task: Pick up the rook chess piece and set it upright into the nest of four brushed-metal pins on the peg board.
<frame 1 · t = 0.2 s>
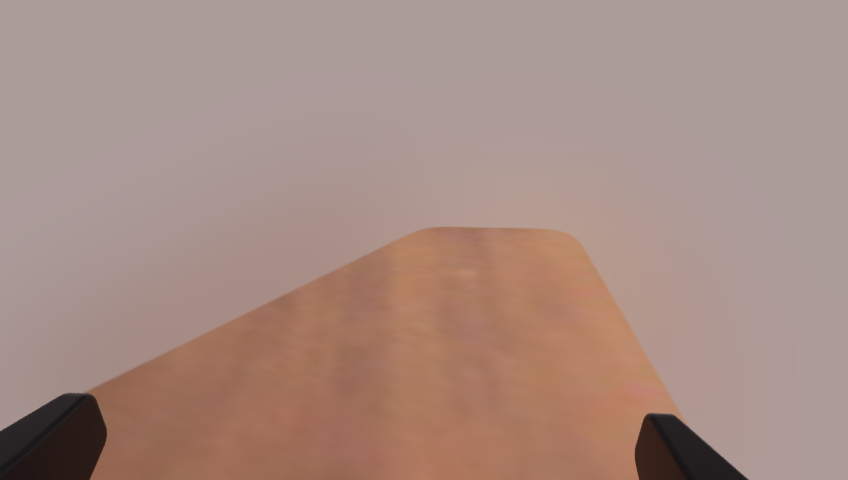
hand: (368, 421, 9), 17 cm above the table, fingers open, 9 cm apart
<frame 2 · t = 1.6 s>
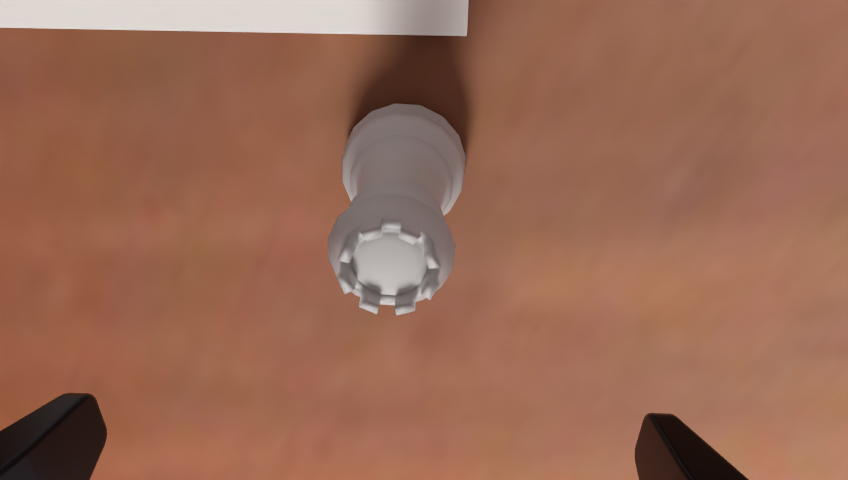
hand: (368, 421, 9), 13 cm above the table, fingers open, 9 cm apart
rook chess piece: (405, 158, 20), on the table
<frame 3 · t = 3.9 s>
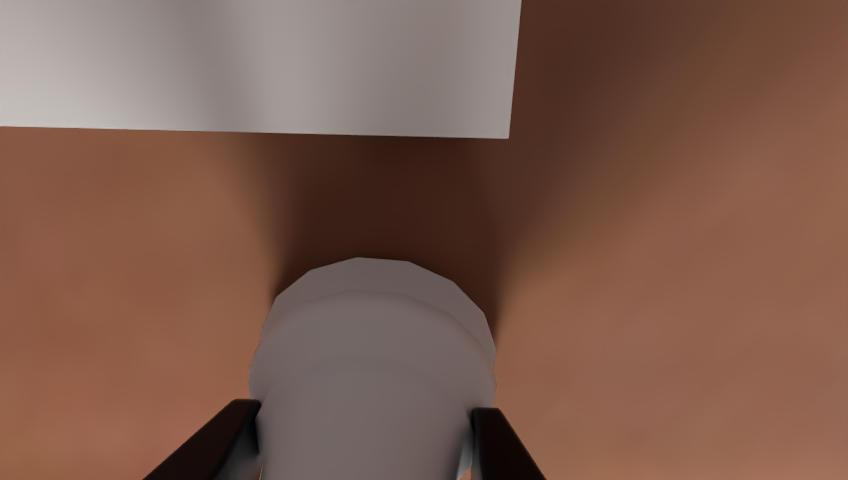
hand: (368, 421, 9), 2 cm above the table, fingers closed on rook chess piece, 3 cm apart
rook chess piece: (381, 336, 11), on the table, touching gripper
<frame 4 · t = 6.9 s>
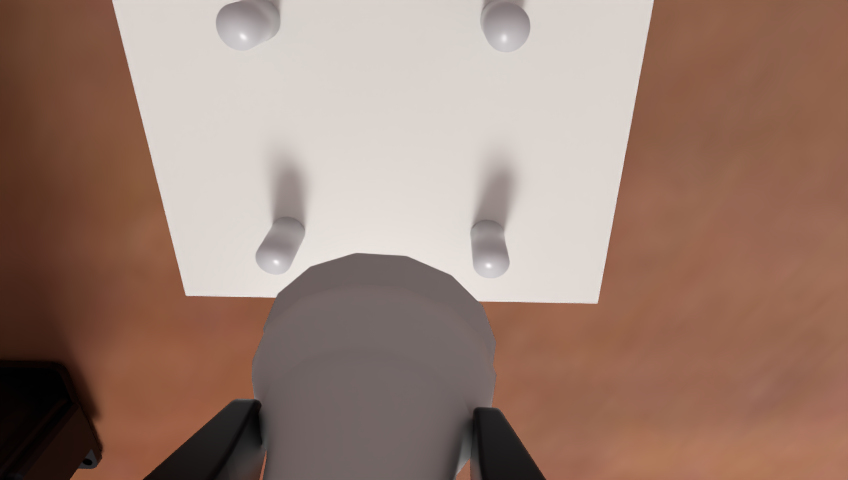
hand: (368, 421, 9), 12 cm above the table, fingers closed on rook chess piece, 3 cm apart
rook chess piece: (382, 331, 11), point 10 cm above the table, touching gripper
peg board: (386, 127, 19), on the table
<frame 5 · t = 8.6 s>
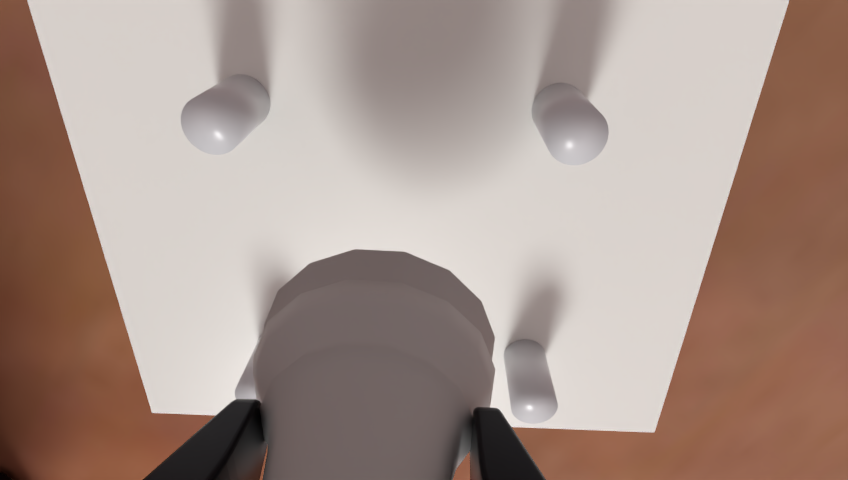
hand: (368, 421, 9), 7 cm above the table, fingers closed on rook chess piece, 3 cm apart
rook chess piece: (382, 327, 11), point 4 cm above the table, touching gripper
peg board: (403, 225, 15), on the table
when the fingers open (4 cm above the table, at t = 10.0 s): rook chess piece stays where it is, resting on peg board.
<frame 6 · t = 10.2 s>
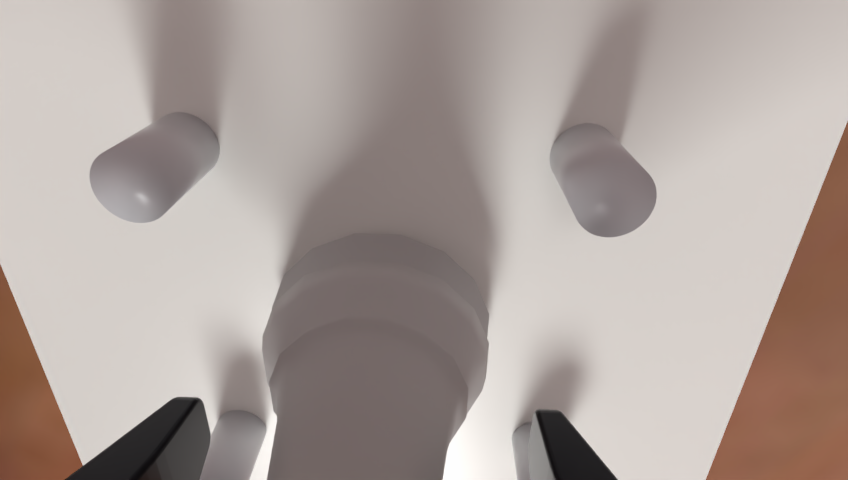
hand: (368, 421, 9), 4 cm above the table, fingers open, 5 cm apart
rook chess piece: (383, 309, 12), point 1 cm above the table, touching peg board
peg board: (390, 287, 12), on the table
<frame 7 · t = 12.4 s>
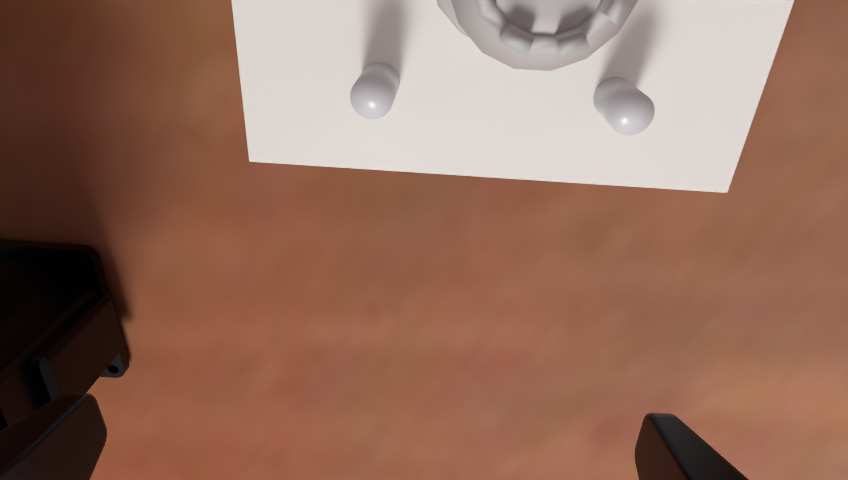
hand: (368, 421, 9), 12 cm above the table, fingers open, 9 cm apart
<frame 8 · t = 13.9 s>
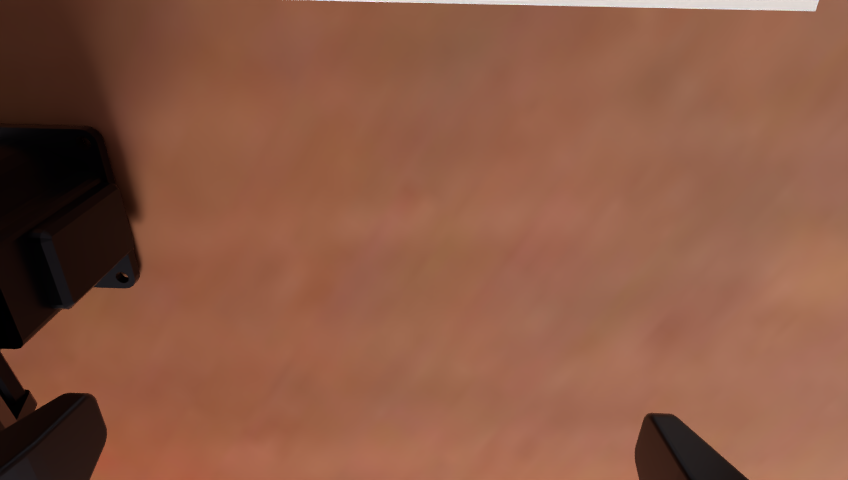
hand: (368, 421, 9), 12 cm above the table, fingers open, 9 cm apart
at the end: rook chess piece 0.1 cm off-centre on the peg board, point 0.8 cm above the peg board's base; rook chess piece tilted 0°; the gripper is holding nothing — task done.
